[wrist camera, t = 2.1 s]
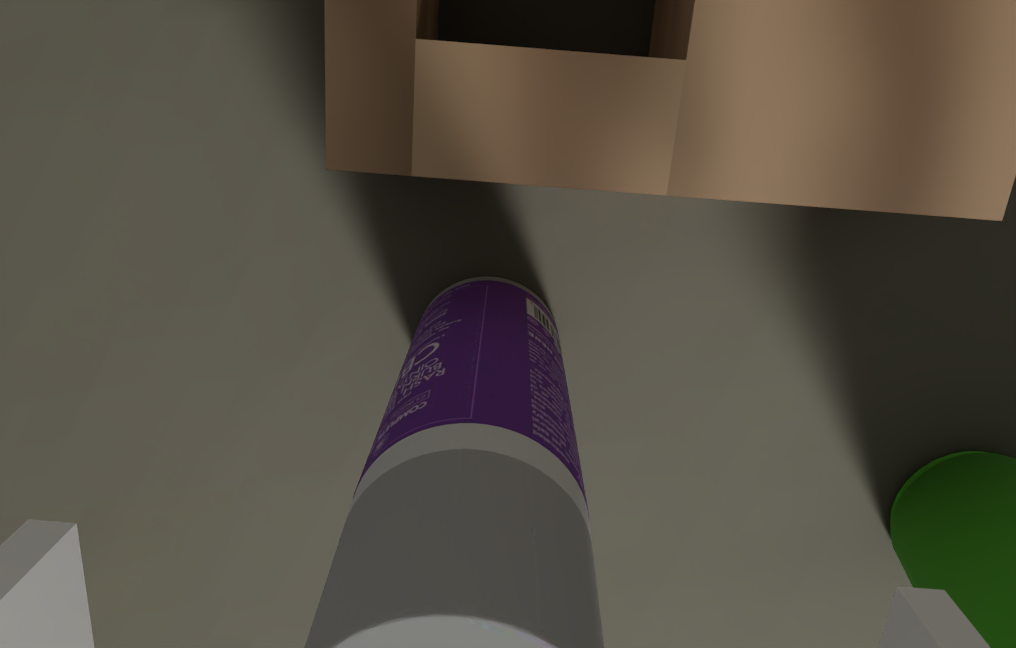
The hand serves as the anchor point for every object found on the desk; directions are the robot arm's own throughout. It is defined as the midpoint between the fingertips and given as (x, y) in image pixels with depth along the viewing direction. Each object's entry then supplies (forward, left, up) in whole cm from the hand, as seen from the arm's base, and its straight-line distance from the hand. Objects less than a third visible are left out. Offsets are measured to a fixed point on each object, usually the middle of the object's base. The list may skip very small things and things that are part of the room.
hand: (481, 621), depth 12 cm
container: (0, 0, -13) cm, 13 cm away
